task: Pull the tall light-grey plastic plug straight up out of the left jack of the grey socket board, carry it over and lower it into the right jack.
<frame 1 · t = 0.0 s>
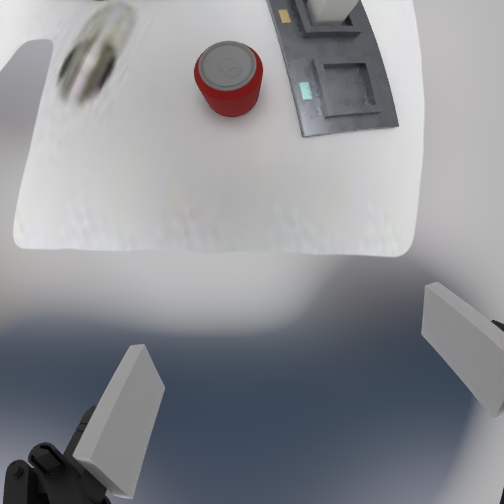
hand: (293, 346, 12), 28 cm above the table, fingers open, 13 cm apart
plug: (323, 14, 29), point 1 cm above the table, touching grey socket board
grey socket board: (331, 52, 32), on the table
beverage can: (232, 94, 34), on the table
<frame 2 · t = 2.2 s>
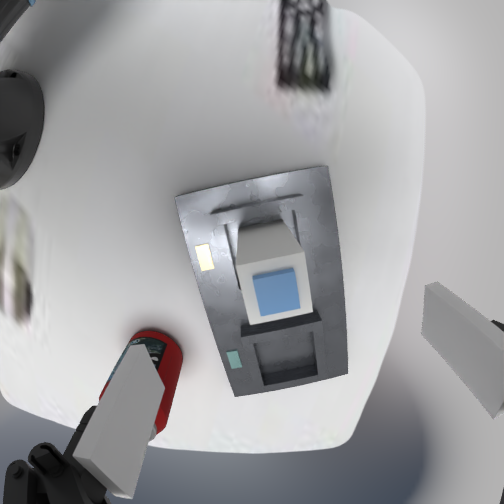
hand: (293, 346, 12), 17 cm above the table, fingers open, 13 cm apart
plug: (264, 244, 27), point 1 cm above the table, touching grey socket board
grey socket board: (274, 295, 30), on the table
beverage can: (156, 349, 32), on the table
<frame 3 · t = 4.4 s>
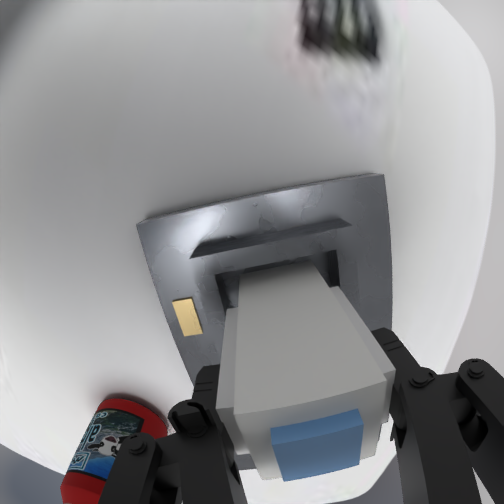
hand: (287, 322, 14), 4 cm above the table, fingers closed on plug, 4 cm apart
plug: (281, 299, 17), point 2 cm above the table, touching gripper, grey socket board
grey socket board: (292, 362, 20), on the table
beverage can: (134, 416, 22), on the table
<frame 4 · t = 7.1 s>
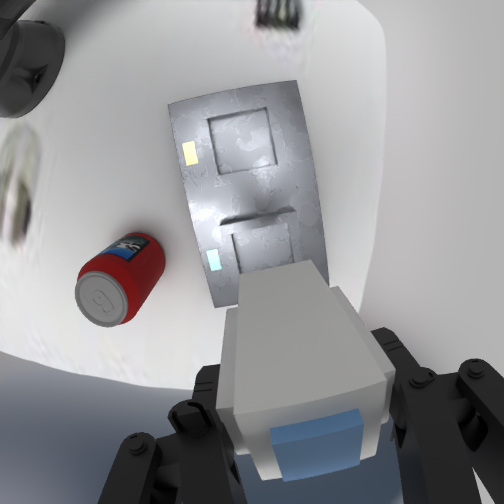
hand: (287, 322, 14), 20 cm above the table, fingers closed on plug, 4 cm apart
plug: (281, 299, 17), point 18 cm above the table, touching gripper
grey socket board: (252, 195, 32), on the table
beverage can: (141, 257, 34), on the table
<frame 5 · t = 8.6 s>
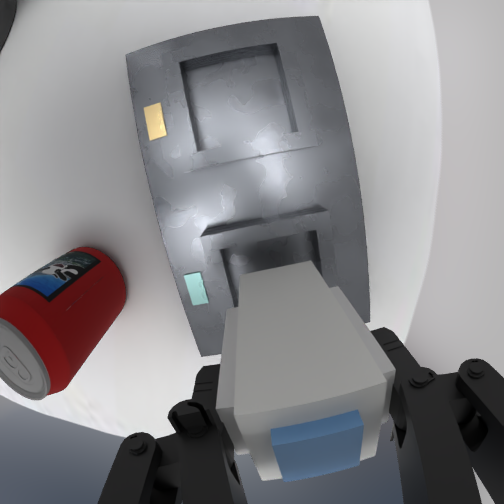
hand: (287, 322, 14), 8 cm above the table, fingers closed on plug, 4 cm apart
plug: (281, 299, 17), point 6 cm above the table, touching gripper
grey socket board: (256, 186, 20), on the table
beverage can: (95, 281, 22), on the table
when the fingers open (5 cm above the table, at t = 9.8 s): plug stays where it is, resting on grey socket board.
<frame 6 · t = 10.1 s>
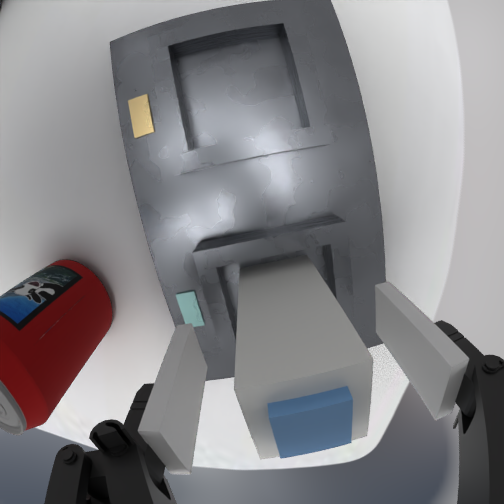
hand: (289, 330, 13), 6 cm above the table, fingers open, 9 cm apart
plug: (279, 292, 18), point 1 cm above the table, touching grey socket board
grey socket board: (258, 191, 17), on the table
beverage can: (80, 296, 19), on the table
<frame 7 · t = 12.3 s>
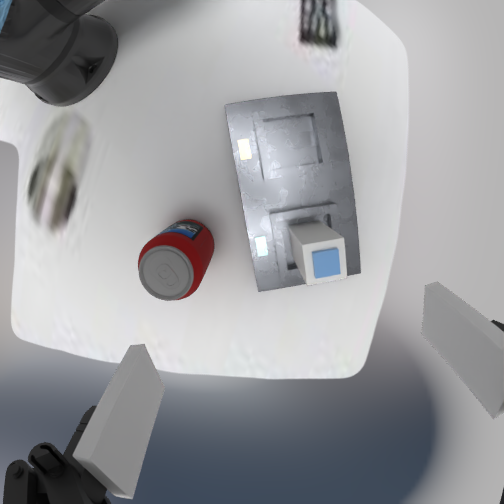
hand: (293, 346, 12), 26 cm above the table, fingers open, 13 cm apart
plug: (305, 238, 36), point 1 cm above the table, touching grey socket board
grey socket board: (297, 190, 36), on the table
beverage can: (189, 243, 38), on the table
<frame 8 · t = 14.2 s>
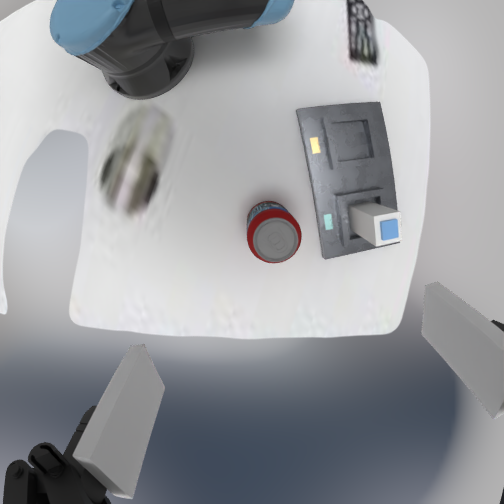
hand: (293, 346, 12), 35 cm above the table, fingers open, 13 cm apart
plug: (360, 215, 44), point 1 cm above the table, touching grey socket board
grey socket board: (352, 178, 44), on the table
beverage can: (268, 221, 46), on the table
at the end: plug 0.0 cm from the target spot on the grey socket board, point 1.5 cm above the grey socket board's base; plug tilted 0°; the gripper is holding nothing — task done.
